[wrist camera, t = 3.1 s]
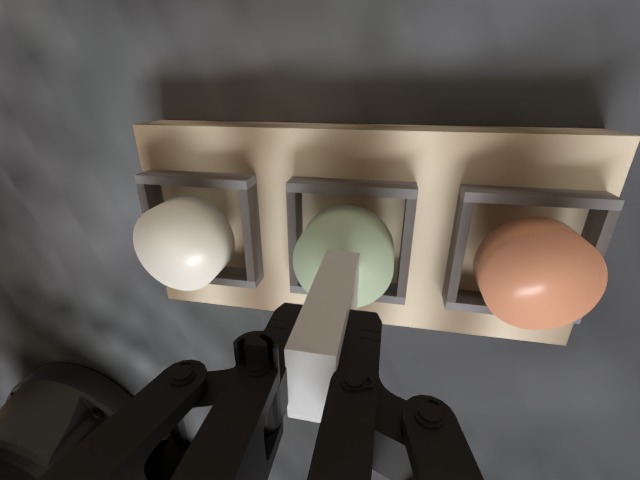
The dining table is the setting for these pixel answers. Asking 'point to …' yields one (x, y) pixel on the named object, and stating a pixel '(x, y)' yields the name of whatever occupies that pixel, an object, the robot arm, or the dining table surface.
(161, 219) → the cream button
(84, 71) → the dining table surface
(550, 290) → the terracotta button
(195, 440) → the robot arm
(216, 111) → the dining table surface
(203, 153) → the button panel
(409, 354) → the dining table surface
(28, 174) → the dining table surface
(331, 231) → the sage button
